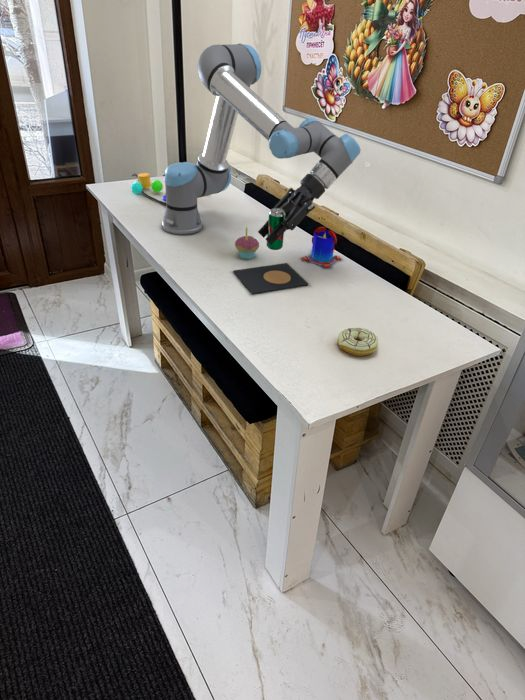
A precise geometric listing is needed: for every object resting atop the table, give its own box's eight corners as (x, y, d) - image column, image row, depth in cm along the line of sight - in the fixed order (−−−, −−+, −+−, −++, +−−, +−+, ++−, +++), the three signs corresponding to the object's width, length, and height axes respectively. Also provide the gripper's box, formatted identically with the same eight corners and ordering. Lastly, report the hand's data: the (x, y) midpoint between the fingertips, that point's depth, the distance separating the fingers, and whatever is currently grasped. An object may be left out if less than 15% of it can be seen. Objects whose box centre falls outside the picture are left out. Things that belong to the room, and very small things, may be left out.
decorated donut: (340, 332, 143) (343, 321, 141) (378, 341, 141) (381, 329, 138) (333, 352, 135) (335, 340, 133) (373, 361, 132) (376, 350, 130)
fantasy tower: (343, 258, 183) (348, 226, 176) (328, 269, 175) (333, 237, 168) (314, 249, 188) (319, 218, 181) (299, 260, 180) (302, 227, 173)
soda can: (284, 245, 161) (287, 209, 154) (279, 252, 157) (282, 214, 150) (269, 242, 162) (272, 206, 155) (264, 248, 158) (266, 211, 151)
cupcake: (255, 263, 175) (257, 230, 168) (231, 259, 177) (232, 226, 170) (260, 253, 182) (262, 221, 175) (237, 249, 183) (238, 217, 176)
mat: (233, 272, 169) (233, 269, 168) (286, 264, 176) (286, 262, 176) (251, 294, 157) (252, 292, 157) (308, 285, 165) (308, 283, 164)
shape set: (133, 187, 235) (130, 172, 230) (208, 182, 239) (207, 166, 235) (131, 211, 211) (128, 193, 207) (214, 204, 216) (213, 187, 212)
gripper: (296, 164, 157) (245, 220, 161) (325, 182, 144) (269, 243, 147) (310, 180, 162) (260, 234, 166) (339, 199, 149) (284, 257, 152)
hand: (264, 238), depth 156 cm, fingers closed on soda can, 5 cm apart
